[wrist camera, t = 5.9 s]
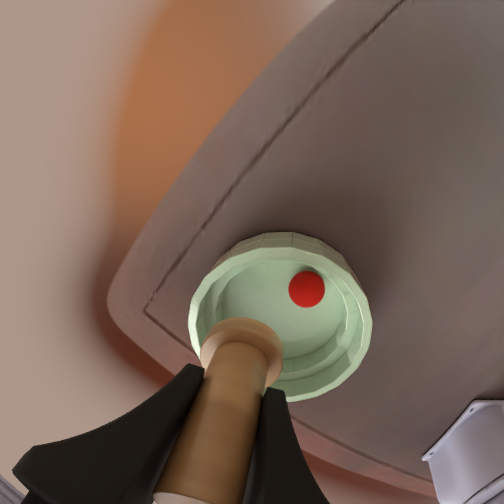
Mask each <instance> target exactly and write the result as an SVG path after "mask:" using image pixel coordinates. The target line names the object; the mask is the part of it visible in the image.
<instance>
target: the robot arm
mask: <svg viewBox="0 0 504 504" xmlns="http://www.w3.org/2000/svg"><path fill="white" fill-rule="evenodd" d="M204 372H205V368H202V367H199V366H196V365H193V364H190V363H189V364H187V365H186V366H185V367H184V368H183V369H182V370H181V371H180V372H179V373H178V374H177V375H176V376H175V377H174V378H173V379H172V380H171V381H170V382H168V384H166V385H165V386H164V387H163V388H161V389H160V390H159V391H158V392H156V393H155V394H154V395H153V396H151V397H150V398H149V399H147V400H146V401H144V402H143V403H142V404H140V405H139V406H137V407H136V408H134V409H133V410H131V411H130V412H128V413H126V414H125V415H123V416H121V417H119V418H117V419H115V420H114V421H112V422H109V423H108V424H105V425H103V426H101V427H99V428H97V429H94V430H92V431H89V432H86V433H84V434H81V435H78V436H75V437H71V438H69V439H65V440H61V441H57V442H52V443H47V444H42V445H36V446H33V447H32V448H31V449H30V450H29V451H28V452H26V453H25V454H24V456H23V457H22V458H21V459H20V460H19V462H18V463H17V464H16V466H15V467H14V468H13V469H12V471H13V474H14V475H15V476H16V478H18V480H19V481H20V482H21V483H22V484H23V485H24V486H25V487H26V488H27V489H28V490H29V492H28V494H27V495H26V496H25V495H23V494H22V493H21V492H20V491H18V490H17V489H16V488H15V487H13V485H11V484H10V483H9V482H8V481H7V480H6V479H5V478H3V477H2V476H1V475H0V504H152V503H153V501H154V500H153V498H152V492H153V489H154V487H155V485H156V483H157V481H158V478H159V476H160V474H161V472H162V469H163V467H164V465H165V463H166V460H167V458H168V456H169V454H170V451H171V449H172V447H173V444H174V442H175V440H176V438H177V435H178V433H179V431H180V429H181V426H182V424H183V422H184V420H185V417H186V415H187V413H188V411H189V408H190V406H191V404H192V402H193V400H194V398H195V396H196V394H197V391H198V389H199V387H200V385H201V382H202V380H203V377H204ZM422 460H423V461H428V463H429V467H430V470H431V474H432V478H433V482H434V486H435V490H436V494H437V498H438V500H439V503H440V504H504V400H475V401H473V402H472V403H471V404H470V405H469V407H468V408H467V409H466V410H465V411H464V413H463V414H462V415H461V416H460V417H459V419H458V420H457V421H456V422H455V423H454V424H453V425H452V427H451V428H450V429H449V430H448V431H447V432H446V433H445V434H444V435H443V436H442V437H441V439H440V440H439V441H438V442H437V443H436V444H435V445H434V446H433V447H432V448H431V449H430V450H429V451H428V452H427V453H426V454H425V455H424V456H423V457H422ZM243 504H330V503H329V502H328V500H327V499H326V497H325V496H324V494H323V493H322V491H321V490H320V488H319V486H318V484H317V483H316V481H315V479H314V477H313V475H312V473H311V471H310V469H309V467H308V465H307V463H306V461H305V459H304V456H303V454H302V451H301V449H300V446H299V443H298V440H297V437H296V434H295V431H294V428H293V425H292V421H291V418H290V414H289V410H288V405H287V400H286V395H285V392H284V390H280V389H276V388H271V387H267V389H266V391H265V394H264V396H263V400H262V406H261V411H260V417H259V423H258V429H257V434H256V440H255V445H254V450H253V455H252V460H251V465H250V470H249V475H248V480H247V485H246V490H245V495H244V499H243Z"/></svg>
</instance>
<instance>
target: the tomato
mask: <svg viewBox="0 0 504 504" xmlns="http://www.w3.org/2000/svg"><path fill="white" fill-rule="evenodd" d="M288 292H289V296H290V298H291V300H292V301H293V302H294V303H295V304H296V305H298V306H300V307H303V308H310V307H313V306H315V305H317V304H318V303H319V302H320V301H321V300H322V299H323V297H324V294H325V284H324V281H323V279H322V278H321V277H320V276H319V275H318V274H317V273H315V272H312V271H302V272H299V273H297V274H296V275H295V276H294V277H293V278H292V279H291V281H290V283H289V287H288Z"/></svg>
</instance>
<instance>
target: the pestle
mask: <svg viewBox="0 0 504 504" xmlns="http://www.w3.org/2000/svg"><path fill="white" fill-rule="evenodd" d="M283 358H284V348H283V344H282V342H281V340H280V338H279V336H278V335H277V334H276V332H275V331H274V330H273V329H271V328H270V327H269V326H267V325H266V324H264V323H262V322H260V321H258V320H255V319H251V318H246V317H233V318H228V319H225V320H222V321H220V322H218V323H217V324H215V325H214V326H213V327H212V328H211V329H210V330H209V332H208V334H207V336H206V338H205V340H204V342H203V344H202V346H201V349H200V360H201V364H202V367H203V368H205V374H204V377H203V380H202V382H201V385H200V387H199V389H198V391H197V394H196V396H195V398H194V400H193V402H192V404H191V406H190V408H189V411H188V413H187V415H186V417H185V420H184V422H183V424H182V426H181V429H180V431H179V433H178V435H177V438H176V440H175V442H174V444H173V447H172V449H171V451H170V454H169V456H168V458H167V460H166V463H165V465H164V467H163V469H162V472H161V474H160V476H159V478H158V481H157V483H156V485H155V487H154V489H153V492H152V498H153V500H154V501H155V502H156V503H157V504H243V499H244V495H245V490H246V485H247V480H248V475H249V470H250V465H251V460H252V455H253V450H254V445H255V440H256V434H257V429H258V423H259V417H260V411H261V406H262V400H263V395H264V390H265V388H267V387H269V386H270V385H272V384H273V383H274V382H275V381H276V380H277V379H278V377H279V376H280V374H281V371H282V367H283Z"/></svg>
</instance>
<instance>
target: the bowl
mask: <svg viewBox="0 0 504 504" xmlns="http://www.w3.org/2000/svg"><path fill="white" fill-rule="evenodd" d="M302 271H312V272H315V273H317V274H318V275H319V276H320V277H321V278H322V279H323V281H324V284H325V294H324V297H323V299H322V300H321V301H320V302H319V303H318V304H317V305H315V306H313V307H310V308H303V307H300V306H298V305H296V304H295V303H294V302H293V301H292V300H291V298H290V296H289V292H288V287H289V283H290V281H291V279H292V278H293V277H294V276H295V275H296V274H297V273H299V272H302ZM233 317H246V318H251V319H255V320H258V321H260V322H262V323H264V324H266V325H267V326H269V327H270V328H271V329H273V330H274V331H275V332H276V334H277V335H278V336H279V338H280V340H281V342H282V344H283V348H284V358H283V367H282V371H281V374H280V376H279V377H278V379H277V380H276V381H275V382H274V383H273V384H272V385H270V386H269V387H271V388H276V389H280V390H284V392H285V395H286V400H287V402H295V401H299V400H304V399H308V398H313V397H317V396H319V395H321V394H323V393H325V392H327V391H329V390H331V389H333V388H335V387H337V386H339V385H340V384H341V383H342V382H343V381H345V380H346V379H347V378H348V377H349V376H350V375H351V374H352V373H353V372H354V371H355V370H356V369H357V368H358V367H359V365H360V363H361V361H362V359H363V358H364V356H365V354H366V352H367V350H368V348H369V345H370V339H371V332H372V325H373V323H372V322H373V321H372V316H371V312H370V308H369V304H368V300H367V297H366V295H365V292H364V290H363V288H362V286H361V284H360V282H359V280H358V278H357V276H356V274H355V272H354V271H353V270H352V268H351V267H350V265H349V264H348V263H347V261H346V260H345V259H344V257H343V256H342V255H341V254H340V253H338V252H337V251H336V250H334V249H333V248H331V247H330V246H328V245H327V244H326V243H324V242H323V241H321V240H319V239H316V238H312V237H309V236H305V235H302V234H298V233H295V232H273V233H263V234H260V235H257V236H254V237H252V238H249V239H246V240H243V241H241V242H239V243H237V244H236V245H235V246H234V247H232V248H231V249H230V250H229V251H227V252H226V253H225V254H224V255H222V256H221V257H220V258H219V259H218V261H217V262H216V263H215V264H214V266H213V267H212V268H211V269H210V271H209V272H208V273H207V275H206V276H205V277H204V279H203V280H202V282H201V284H200V285H199V287H198V289H197V290H196V292H195V294H194V295H193V297H192V300H191V304H190V310H189V317H188V328H189V333H190V338H191V343H192V346H193V349H194V350H195V352H196V354H197V355H198V357H199V359H200V349H201V346H202V344H203V342H204V340H205V338H206V336H207V334H208V332H209V330H210V329H211V328H212V327H213V326H214V325H215V324H217V323H218V322H220V321H222V320H225V319H228V318H233ZM200 361H201V360H200ZM266 389H267V388H265V390H264V394H265V391H266ZM263 396H264V395H263Z"/></svg>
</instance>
